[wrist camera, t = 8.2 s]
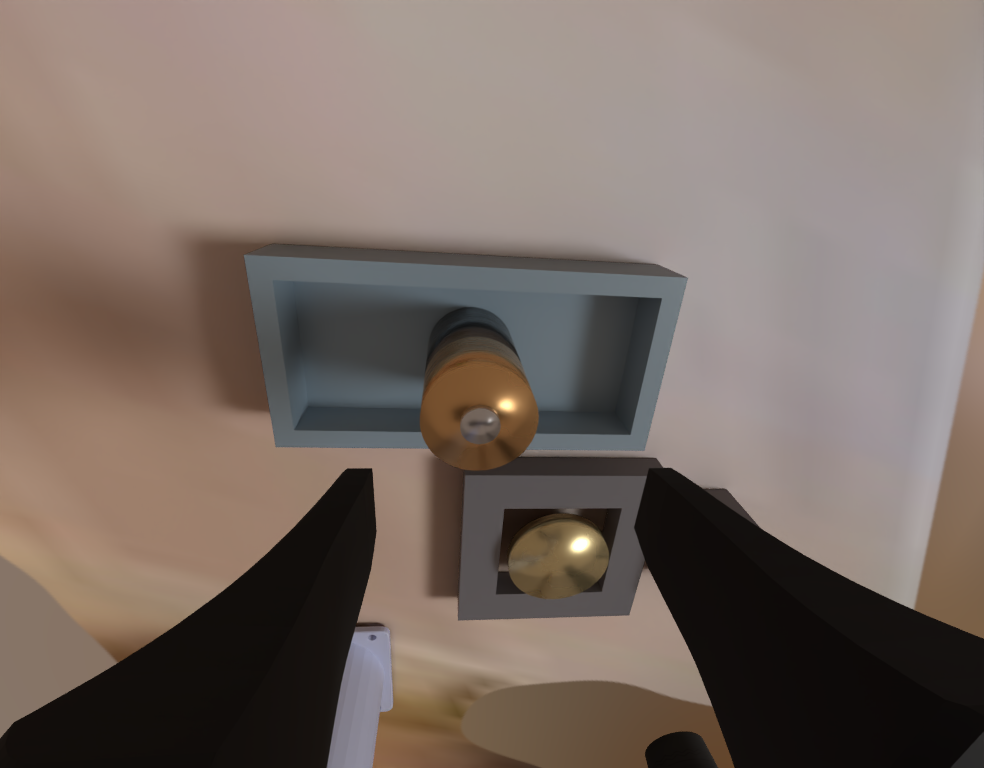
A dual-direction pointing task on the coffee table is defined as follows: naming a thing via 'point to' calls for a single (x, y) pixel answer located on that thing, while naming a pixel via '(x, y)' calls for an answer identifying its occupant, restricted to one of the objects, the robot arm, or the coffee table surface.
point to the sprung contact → (557, 556)
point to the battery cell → (475, 393)
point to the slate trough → (411, 318)
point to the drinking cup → (679, 752)
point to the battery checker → (554, 489)
